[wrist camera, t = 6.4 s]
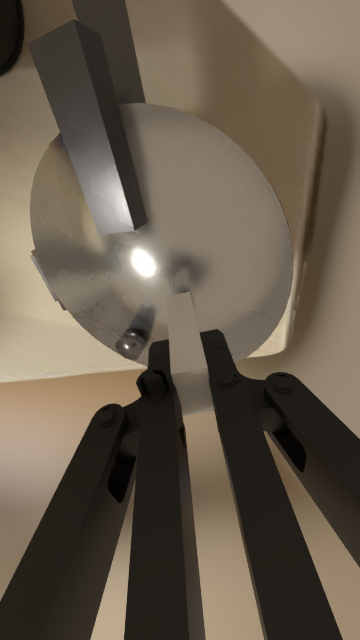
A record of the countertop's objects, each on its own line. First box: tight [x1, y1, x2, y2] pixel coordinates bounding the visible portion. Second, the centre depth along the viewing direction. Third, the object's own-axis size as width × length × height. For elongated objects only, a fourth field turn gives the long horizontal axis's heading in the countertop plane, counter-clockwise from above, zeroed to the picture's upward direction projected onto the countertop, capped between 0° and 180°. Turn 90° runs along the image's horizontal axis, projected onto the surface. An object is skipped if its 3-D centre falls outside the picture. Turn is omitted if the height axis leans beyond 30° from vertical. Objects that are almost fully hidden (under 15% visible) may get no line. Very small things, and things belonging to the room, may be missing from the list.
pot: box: [31, 0, 146, 301], centre depth 22 cm, size 18×24×9 cm
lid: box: [28, 19, 293, 366], centre depth 15 cm, size 18×19×3 cm
